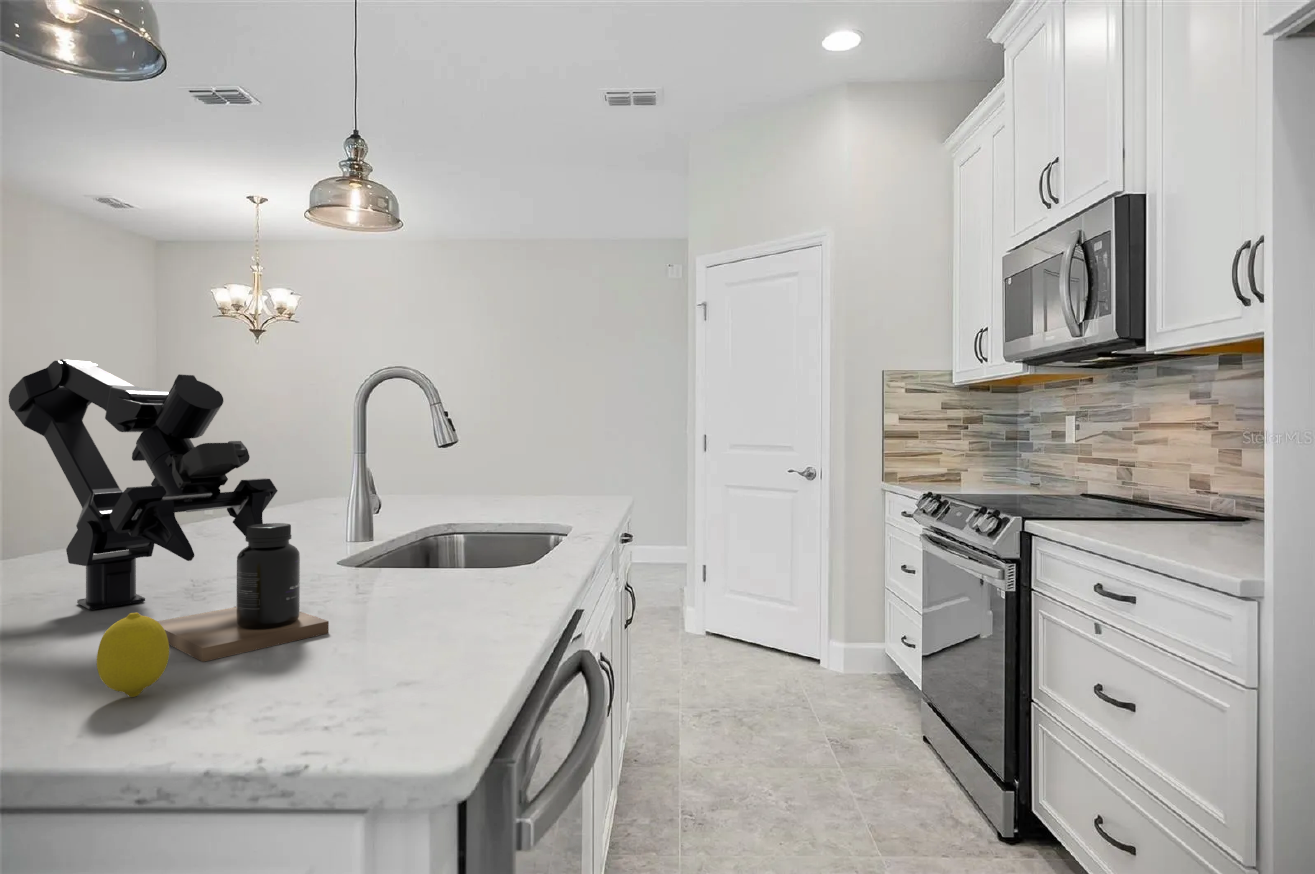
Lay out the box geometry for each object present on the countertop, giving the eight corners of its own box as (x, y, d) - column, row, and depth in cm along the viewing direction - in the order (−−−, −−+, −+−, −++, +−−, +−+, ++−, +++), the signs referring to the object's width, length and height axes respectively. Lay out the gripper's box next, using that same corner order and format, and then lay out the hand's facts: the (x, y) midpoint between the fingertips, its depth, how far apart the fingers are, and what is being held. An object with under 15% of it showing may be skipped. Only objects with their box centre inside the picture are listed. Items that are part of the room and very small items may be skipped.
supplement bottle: (306, 623, 88) (306, 525, 87) (243, 634, 83) (243, 530, 83) (291, 612, 93) (291, 519, 93) (230, 621, 88) (230, 524, 88)
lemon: (131, 710, 65) (131, 622, 65) (81, 705, 66) (80, 618, 66) (183, 688, 70) (183, 607, 70) (136, 684, 71) (136, 603, 71)
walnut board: (150, 634, 88) (149, 622, 88) (269, 611, 99) (269, 601, 99) (202, 662, 78) (202, 648, 78) (328, 633, 89) (328, 621, 89)
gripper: (123, 419, 85) (180, 519, 80) (268, 421, 102) (322, 503, 97) (86, 483, 88) (138, 582, 84) (232, 474, 105) (283, 556, 101)
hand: (228, 552), depth 91 cm, fingers open, 9 cm apart
